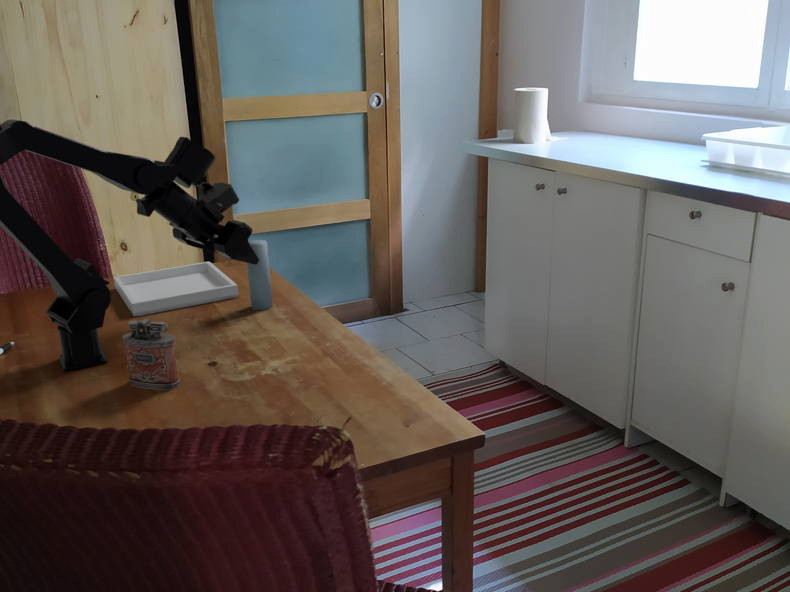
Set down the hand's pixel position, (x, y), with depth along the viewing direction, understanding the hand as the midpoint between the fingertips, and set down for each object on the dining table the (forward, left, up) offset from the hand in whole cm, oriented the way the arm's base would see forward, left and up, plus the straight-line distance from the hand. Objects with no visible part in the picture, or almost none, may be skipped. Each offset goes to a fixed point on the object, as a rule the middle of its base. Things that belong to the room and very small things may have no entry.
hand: (243, 257), depth 138 cm
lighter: (-23, +22, -10) cm, 34 cm away
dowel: (+1, -3, -10) cm, 11 cm away
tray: (+19, +9, -10) cm, 23 cm away
